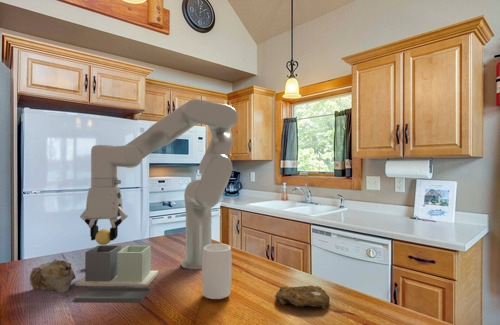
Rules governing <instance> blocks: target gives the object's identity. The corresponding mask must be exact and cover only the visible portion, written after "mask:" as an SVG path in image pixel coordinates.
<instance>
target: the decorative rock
mask: <svg viewBox="0 0 500 325" xmlns="http://www.w3.org/2000/svg"><path fill="white" fill-rule="evenodd" d="M274 299H275V301H277V302H278V303H279V304H280V305H286V304H289V305H290V304H291V305H294V306H295V307H300V308H304V306H310V307H316V308H320V307H321V309H322V308H323V309H322V310H325V309H326V308H327V306H328V305H327V304H329V305H330V296H329V295H328V294H327V292H326V291H325V290H324V289H322V287H321V286H319V285H316V286H314V285H303V286H300V285H299V286H290V287H289V286H286V285H285V286H281V287H279V289H278V291H277V292H276V293H275V295H274Z"/></svg>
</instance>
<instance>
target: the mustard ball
mask: <svg viewBox="0 0 500 325" xmlns="http://www.w3.org/2000/svg"><path fill="white" fill-rule="evenodd" d="M95 241H96V243H97V245H108V244H109V243H110V242H111V241H112V240H110V229H108V228H101V229H100V230H98V232H97V234H96V236H95Z"/></svg>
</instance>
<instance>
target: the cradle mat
mask: <svg viewBox="0 0 500 325" xmlns="http://www.w3.org/2000/svg"><path fill="white" fill-rule="evenodd" d="M151 291H152V288H150V287H149V286H87V288H86V290H84V291H83V292H82V293H80V294H79V295H78V296H74V298H73V300H71V301H70V302H72V303H73V302H74V303H75V302H79V303H80V302H81V303H83V302H84V303H85V302H86V303H87V302H88V303H89V302H91V303H92V302H93V303H142V302H143V301H144V299H145V298H146V297H147V296H148V294H149V293H150V292H151Z"/></svg>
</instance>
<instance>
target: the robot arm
mask: <svg viewBox="0 0 500 325" xmlns="http://www.w3.org/2000/svg"><path fill="white" fill-rule="evenodd" d="M238 121H239V114H238V112H237V110H236V109H235V108H234V107H232V106H231V105H229V104H226V103H225V104H224V103H220V102H215V101H210V100H205V99H198V98H194V99H190V100H188V101H186V102H185V103H184V104H182V105H180V106H179V107H177V108H176V109H175V110H173V111H172V112H170V113H168V114H167V115H165V116H164V117H162V118H161V119H160V120H158V121H156V122H155V123H153V124H152V125H151V126H150V127H149V128H147V129H146V130H145V131H144V132H143V133H140V135H138V136H137V137H135V138H134V139H133V140H131V141H129V142H128V143H127V144H126V143H125V145H108V144H107V145H106V144H105V145H104V144H97V145H95V144H94V146H92V148H91V150H90V187H89V188H88V192H87V194H86V195H87V196H86V204H85V209H84V211H83V212H82V213H81V214H80V215H79V217H80V218H81V219H82V221H84V222H85V224H87V226H88V228H90V230H89V232H90V234H89V237H90V240H91V241H96V239H95V236H96V234H97V232H98V231H99V225H98V223H99V222H98V221H99V220H109V222H110V225H111V227H110V228H109V230H110V240H111V241H114V240H116V239H117V237H118V236H119V234H118V232H119V231H118V230H119V226H120V225H121V224H122V223H123V222H124V221H125V220H126V219H127V218H128V217H129V215H128V214H127V213H126V212H125V210H124V209H123V198H122V193H121V188H120V186H119V187H118V185H120V184H121V183H122V181H121V179H118V168H120V167H121V168H127V169H128V168H131V169H132V168H136V167H138V166H140V165H141V163H142V161H143V159H145V158H146V157H148V156H149V155H150V154H152V153H153V152H155V151H157V150H159V149H161V148H163V147H165V146H167V145H169V144H171V143H173V142H174V141H175V140H177V139H178V138H179V137H181V136H182V135H183V134H185V133H186V132H188V131H189V130H190V129H192V128H193V127H195V126H196V125H198V124H201V125H204V126H205V125H206V126H208V128H209V130H210V132H211V133H210V134H211V137H210V138H211V139H210V142H209V144H208V146H207V149H206V151H205V153H204V155H203V157H202V158H201V160H200V162H199V166H198V172H199V174H200V175H201V178H200V179H195V180H192V181H190V182H189V183H188V184H187V185H186V186H185V189H184V192H183V193H184V196H183V198H184V204H185V205H184V206H185V258H184V259H183V260H182V261H181V263H180V266H181V268H183V269H185V270H189V271H202V258H203V248H204V247H205V246H207V245H210V244H212V223H213V222H212V221H213V220H212V218H213V217H212V208H214V207H215V206H217V204H218V203H219V202H220V200H221V199H222V196H223V194H224V192H225V189H226V187H227V186H228V183H229V182H230V178H231V176H232V173H233V163H232V161H231V159H230V158H229V155H230V153H231V151H232V148H233V143H234V137H233V133H232V130H231V129H232V128H233V127H235V126H236V125H237V122H238ZM119 217H120V218H119ZM118 218H119V219H118Z"/></svg>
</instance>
